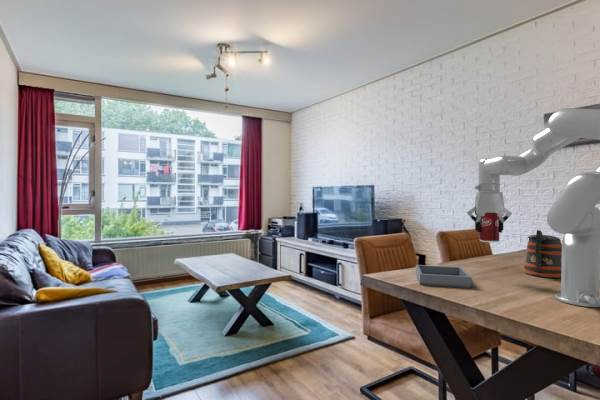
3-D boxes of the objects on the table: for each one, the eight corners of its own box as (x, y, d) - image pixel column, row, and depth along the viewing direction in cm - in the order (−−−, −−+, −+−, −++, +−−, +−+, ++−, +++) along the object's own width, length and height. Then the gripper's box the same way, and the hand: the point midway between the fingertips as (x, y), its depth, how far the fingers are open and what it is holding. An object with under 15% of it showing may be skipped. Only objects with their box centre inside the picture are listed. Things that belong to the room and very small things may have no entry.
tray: (471, 288, 123) (471, 277, 123) (419, 284, 128) (419, 274, 128) (460, 276, 141) (460, 267, 141) (415, 274, 145) (415, 264, 145)
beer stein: (562, 282, 132) (563, 232, 132) (518, 276, 142) (519, 229, 141) (566, 274, 146) (567, 228, 146) (526, 269, 156) (527, 226, 155)
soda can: (494, 240, 140) (494, 211, 140) (502, 242, 133) (502, 212, 133) (475, 240, 141) (475, 211, 141) (483, 242, 134) (483, 212, 133)
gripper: (468, 188, 135) (467, 232, 135) (516, 188, 131) (516, 233, 131) (463, 189, 142) (463, 230, 143) (509, 188, 138) (509, 231, 138)
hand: (489, 231), depth 137 cm, fingers closed on soda can, 7 cm apart
